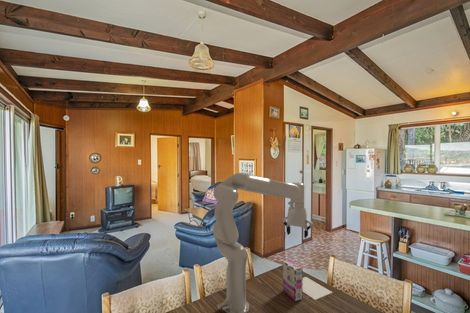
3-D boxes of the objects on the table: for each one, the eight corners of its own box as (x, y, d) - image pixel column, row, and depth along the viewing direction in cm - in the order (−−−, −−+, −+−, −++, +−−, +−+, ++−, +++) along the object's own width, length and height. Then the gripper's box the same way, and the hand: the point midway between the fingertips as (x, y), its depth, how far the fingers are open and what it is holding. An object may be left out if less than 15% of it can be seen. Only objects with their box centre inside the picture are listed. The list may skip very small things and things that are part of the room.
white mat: (315, 300, 127) (315, 299, 127) (289, 283, 144) (289, 282, 144) (332, 292, 134) (332, 292, 134) (306, 277, 150) (306, 276, 150)
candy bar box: (303, 299, 128) (303, 268, 128) (295, 302, 126) (295, 270, 126) (290, 288, 139) (290, 259, 138) (282, 290, 137) (282, 261, 136)
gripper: (280, 204, 140) (279, 234, 141) (311, 208, 131) (310, 240, 131) (285, 202, 147) (284, 231, 147) (314, 205, 137) (314, 236, 138)
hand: (297, 235), depth 139 cm, fingers open, 9 cm apart
